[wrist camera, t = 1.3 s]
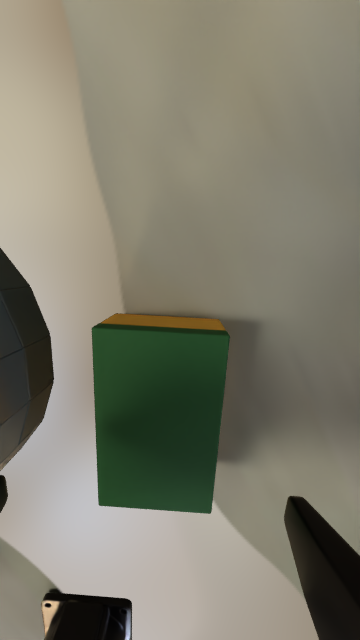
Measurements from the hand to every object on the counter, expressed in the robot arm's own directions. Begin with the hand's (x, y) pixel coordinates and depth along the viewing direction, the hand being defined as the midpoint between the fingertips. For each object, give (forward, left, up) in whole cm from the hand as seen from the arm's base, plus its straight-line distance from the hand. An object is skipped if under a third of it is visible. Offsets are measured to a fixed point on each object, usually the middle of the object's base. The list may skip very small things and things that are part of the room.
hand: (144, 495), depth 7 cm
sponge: (0, 0, -6) cm, 6 cm away
